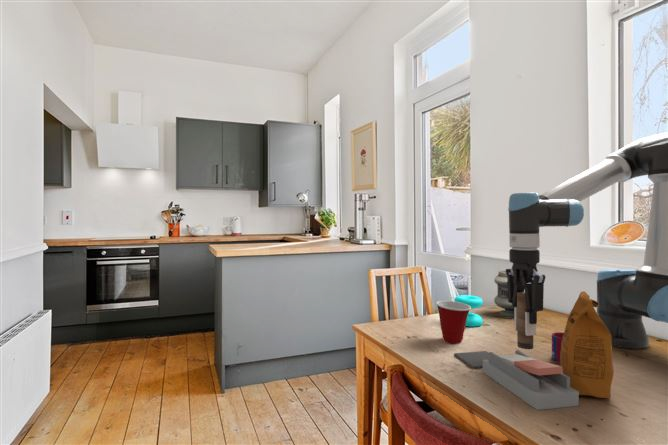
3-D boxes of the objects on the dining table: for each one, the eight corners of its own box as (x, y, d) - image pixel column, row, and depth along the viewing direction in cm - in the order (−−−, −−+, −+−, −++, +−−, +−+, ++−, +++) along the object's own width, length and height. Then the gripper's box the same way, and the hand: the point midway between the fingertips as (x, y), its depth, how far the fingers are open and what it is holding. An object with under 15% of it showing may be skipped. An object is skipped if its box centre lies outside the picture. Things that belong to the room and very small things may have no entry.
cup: (550, 354, 112) (551, 331, 112) (591, 360, 107) (592, 335, 107) (552, 362, 106) (552, 337, 106) (595, 368, 101) (596, 342, 101)
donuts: (486, 300, 138) (458, 299, 138) (486, 327, 138) (458, 327, 138) (477, 294, 148) (451, 294, 148) (477, 320, 148) (451, 320, 148)
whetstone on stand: (517, 368, 101) (517, 347, 101) (578, 405, 81) (578, 379, 81) (482, 371, 99) (482, 350, 99) (536, 410, 80) (537, 383, 80)
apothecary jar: (502, 310, 164) (503, 268, 163) (532, 315, 154) (532, 271, 154) (488, 314, 156) (488, 270, 156) (518, 321, 147) (518, 274, 146)
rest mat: (485, 353, 113) (485, 351, 113) (507, 366, 103) (507, 363, 103) (454, 355, 111) (454, 353, 111) (473, 368, 101) (473, 366, 101)
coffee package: (605, 382, 93) (606, 291, 92) (616, 405, 82) (617, 302, 81) (557, 374, 97) (558, 288, 97) (562, 395, 86) (563, 297, 86)
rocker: (494, 360, 97) (493, 355, 98) (515, 359, 99) (515, 353, 99) (538, 375, 82) (537, 368, 82) (563, 373, 83) (562, 366, 83)
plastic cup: (471, 348, 117) (471, 308, 117) (434, 344, 120) (434, 306, 120) (470, 337, 127) (471, 301, 127) (437, 334, 131) (437, 299, 130)
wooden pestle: (527, 343, 109) (526, 291, 109) (536, 348, 105) (536, 294, 105) (514, 344, 109) (513, 292, 108) (523, 349, 105) (523, 294, 104)
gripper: (493, 246, 114) (494, 325, 115) (533, 251, 97) (534, 343, 98) (516, 245, 115) (517, 323, 116) (559, 250, 99) (560, 341, 99)
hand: (525, 332), depth 107 cm, fingers closed on wooden pestle, 4 cm apart
